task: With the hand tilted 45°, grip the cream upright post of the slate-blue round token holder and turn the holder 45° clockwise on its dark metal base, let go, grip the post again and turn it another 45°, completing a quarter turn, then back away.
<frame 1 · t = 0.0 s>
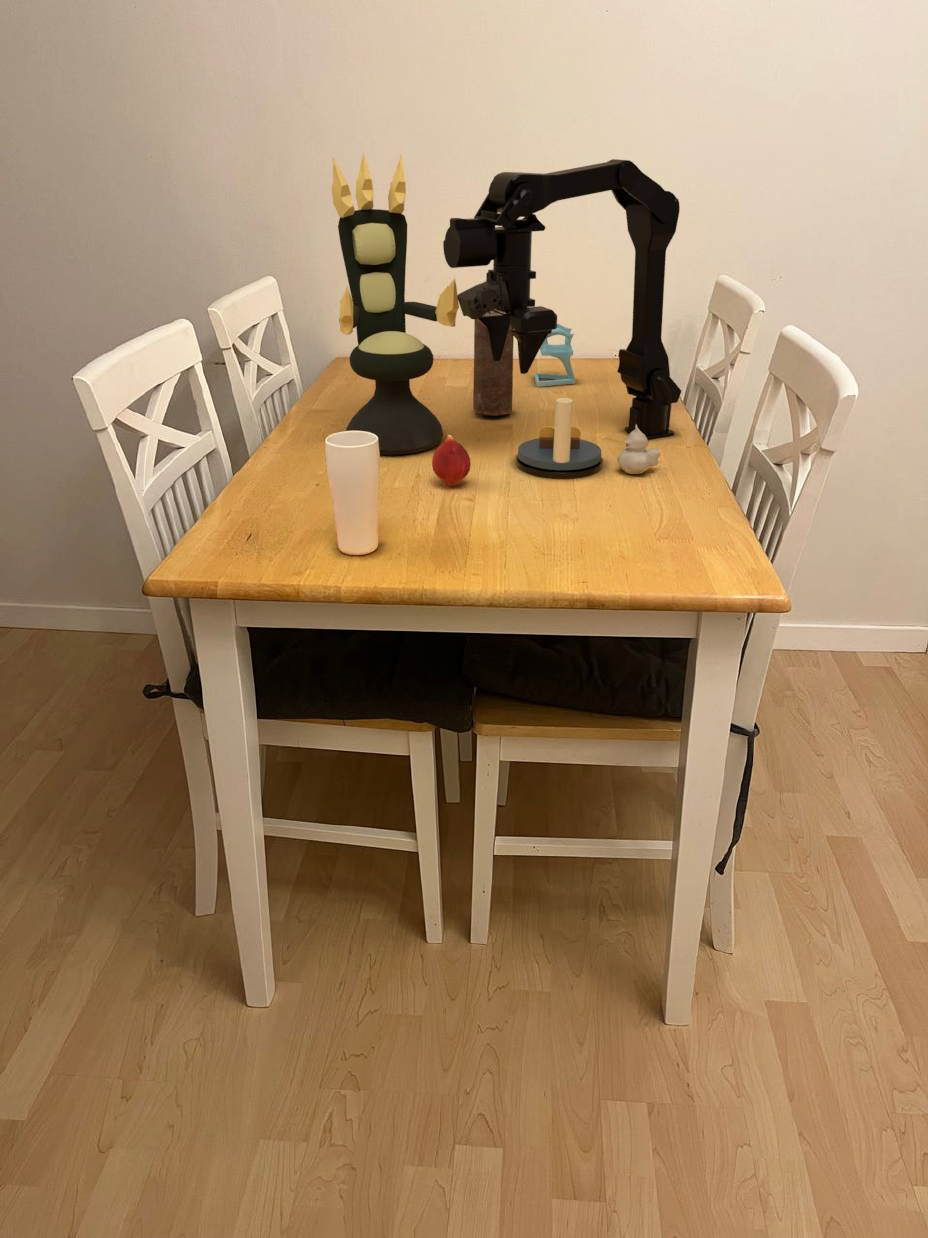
hand: (510, 366, 153), 15 cm above the table, tool pointing down, fingers open, 9 cm apart
turntable base: (559, 464, 156), on the table
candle: (492, 416, 181), on the table
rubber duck: (637, 473, 153), on the table
token holder: (560, 424, 153), point 7 cm above the table, hinge at 0.0°
black throne: (388, 440, 168), on the table
onion: (451, 487, 148), on the table
chair: (555, 383, 202), on the table
drinking glass: (358, 549, 127), on the table
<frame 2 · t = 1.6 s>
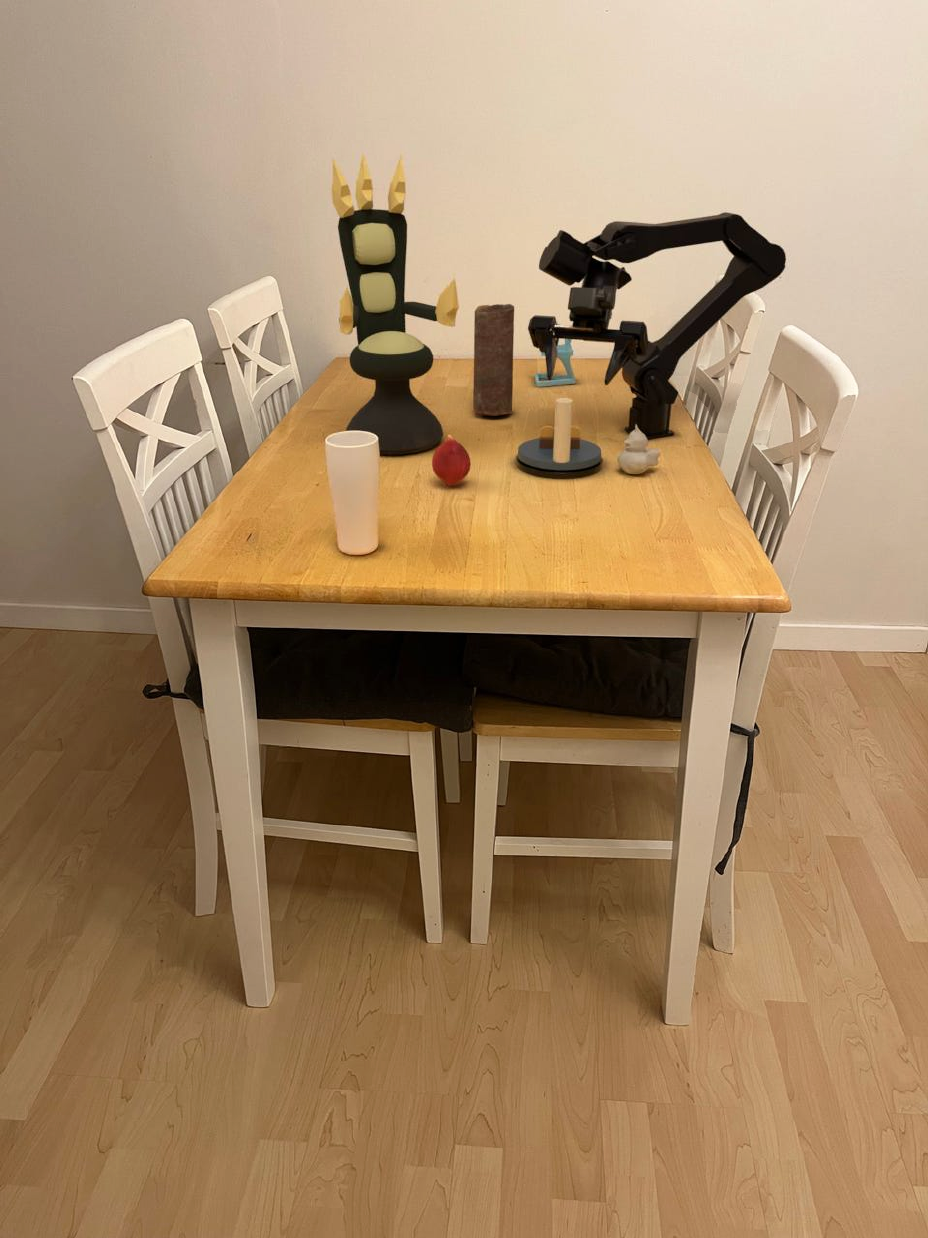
hand: (577, 381, 152), 13 cm above the table, tool tilted 45°, fingers open, 9 cm apart
nothing on the table moved.
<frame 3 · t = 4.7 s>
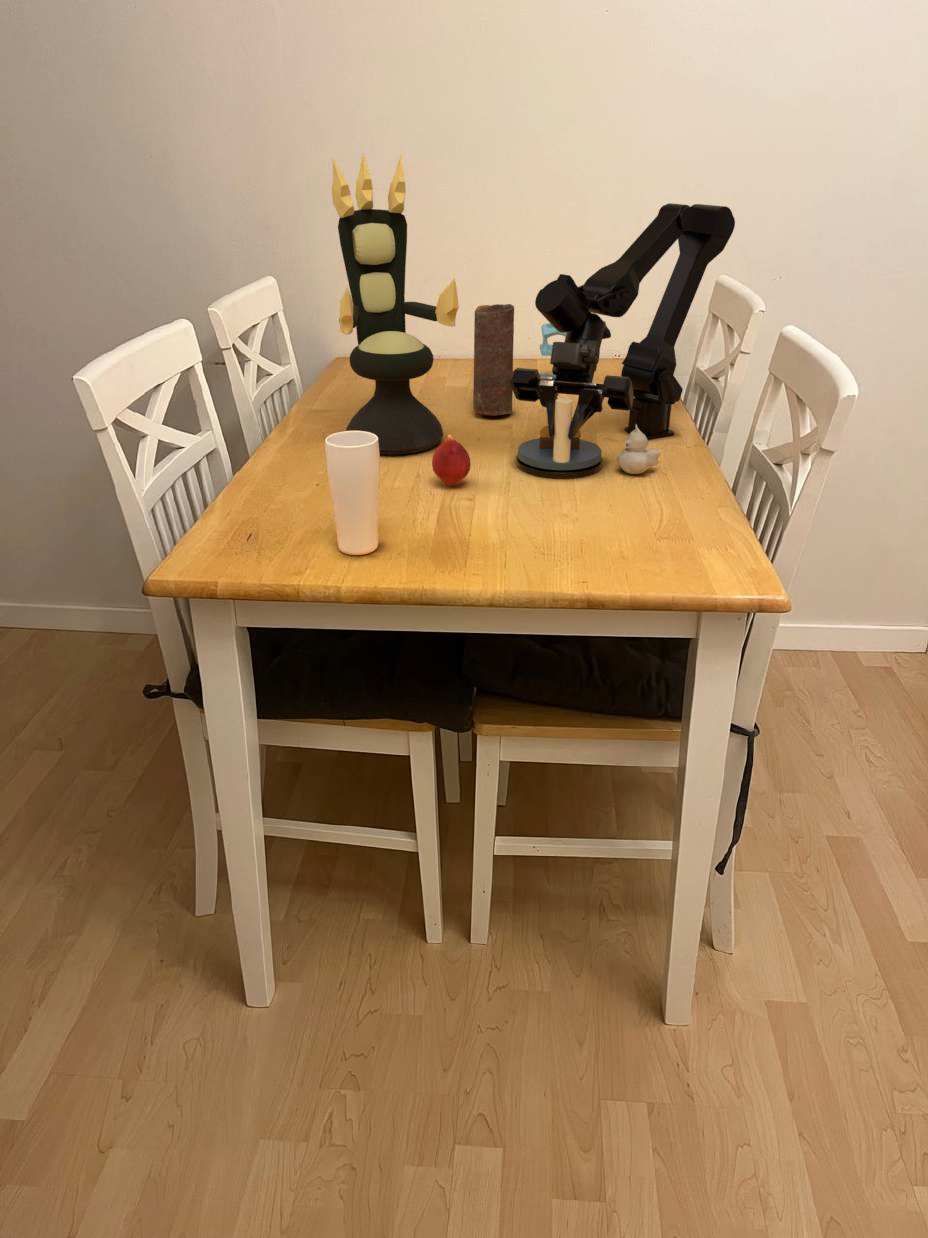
hand: (560, 437, 147), 7 cm above the table, tool tilted 45°, fingers closed on token holder, 3 cm apart
token holder: (560, 424, 153), point 7 cm above the table, hinge at 0.1°, touching gripper
everything else where it was.
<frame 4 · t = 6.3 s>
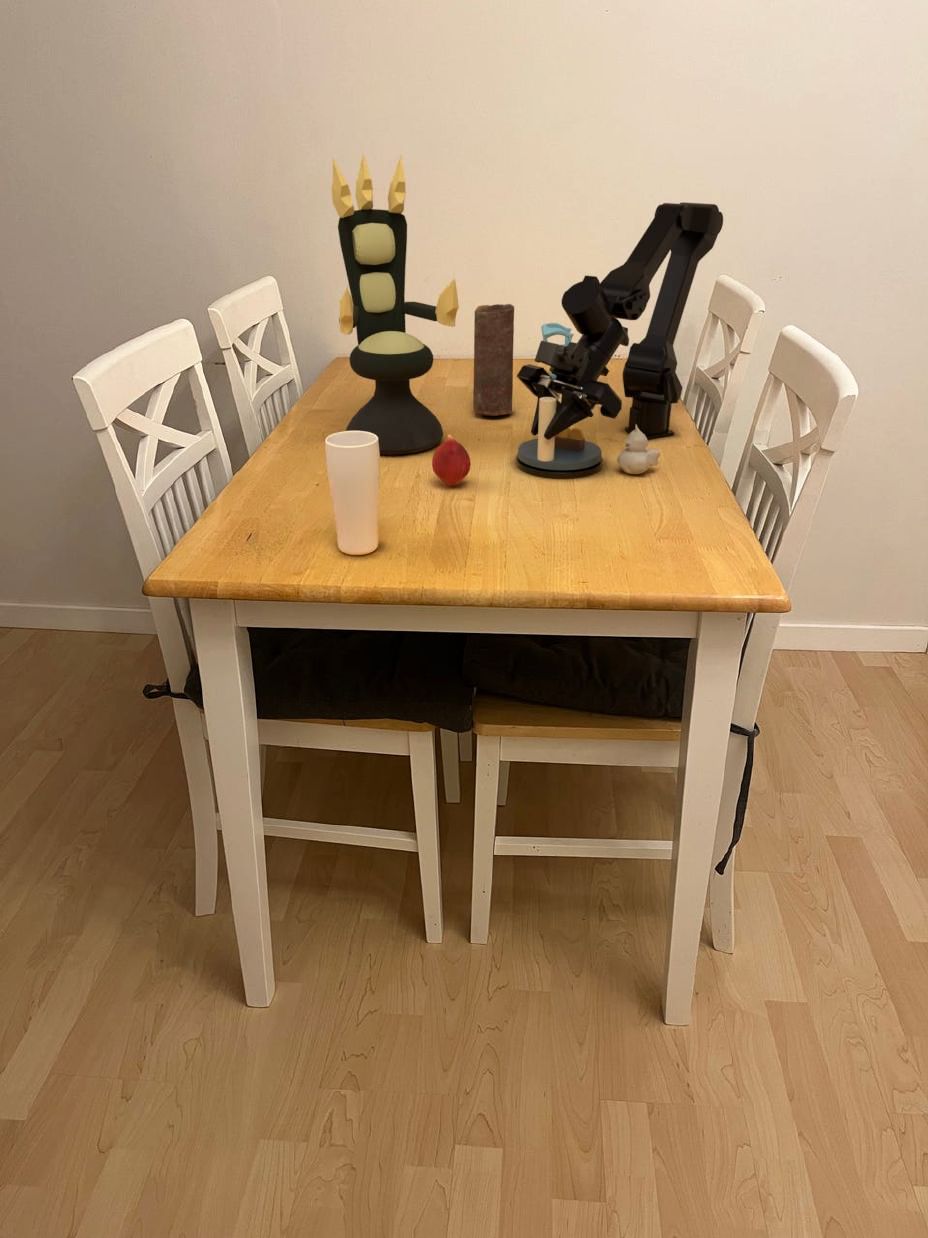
hand: (539, 435, 148), 6 cm above the table, tool tilted 45°, fingers closed on token holder, 3 cm apart
token holder: (560, 424, 153), point 7 cm above the table, hinge at -26.8°, touching gripper
everything else where it was.
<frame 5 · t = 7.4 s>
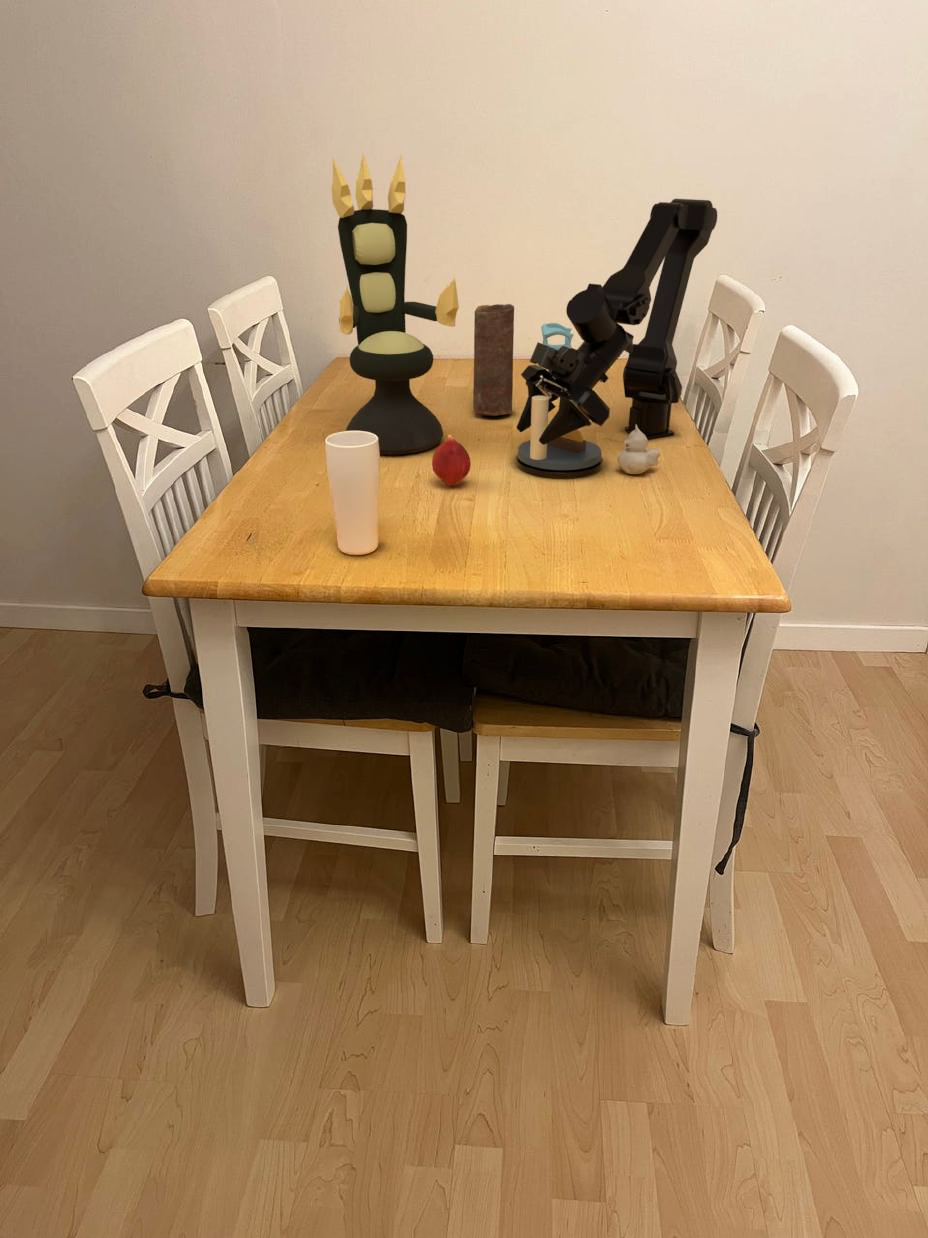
hand: (529, 436, 150), 6 cm above the table, tool tilted 45°, fingers open, 7 cm apart
token holder: (560, 424, 153), point 7 cm above the table, hinge at -41.3°
everything else where it was.
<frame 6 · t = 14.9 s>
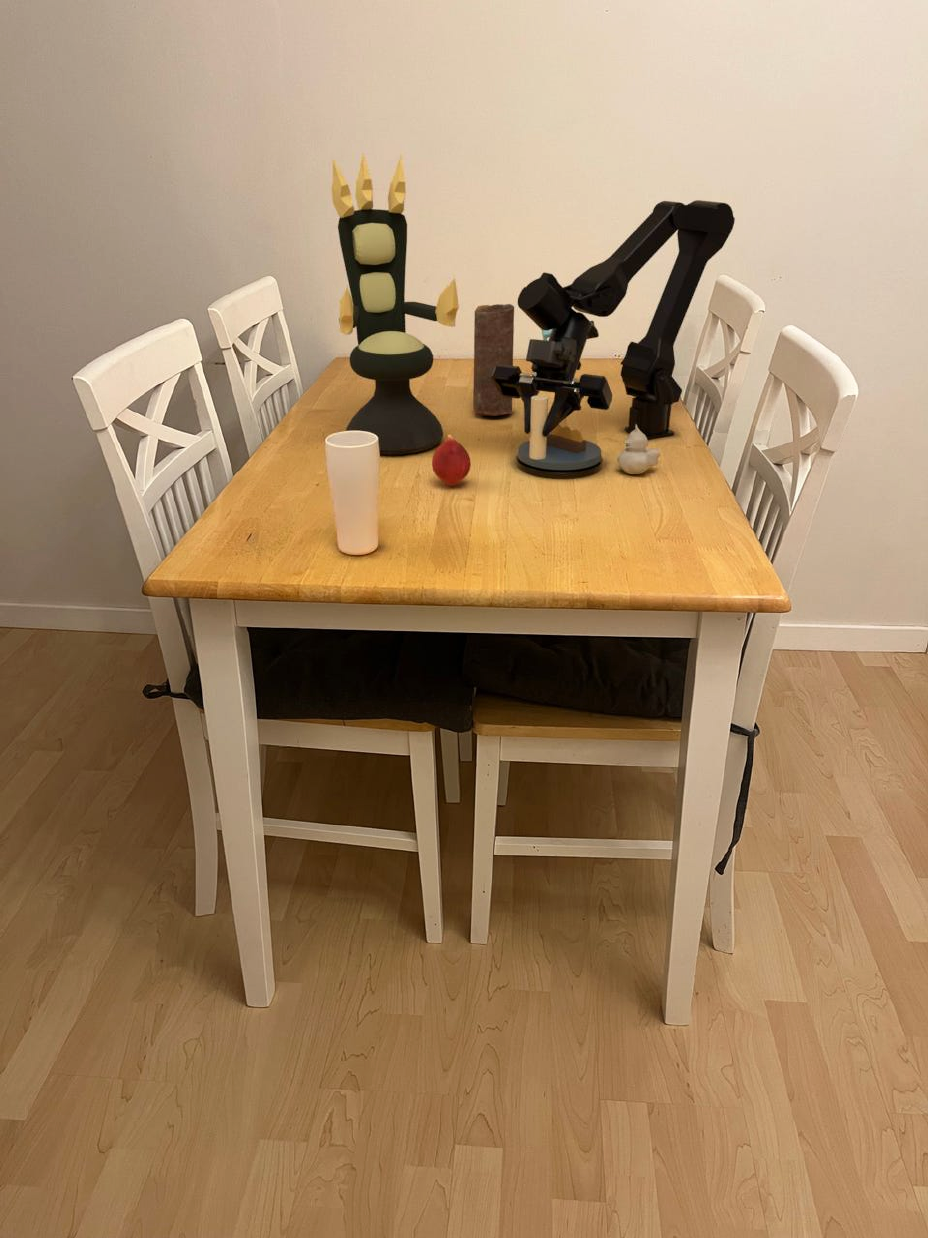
hand: (534, 434, 149), 7 cm above the table, tool tilted 45°, fingers closed on token holder, 3 cm apart
token holder: (560, 424, 153), point 7 cm above the table, hinge at -42.7°, touching gripper
everything else where it was.
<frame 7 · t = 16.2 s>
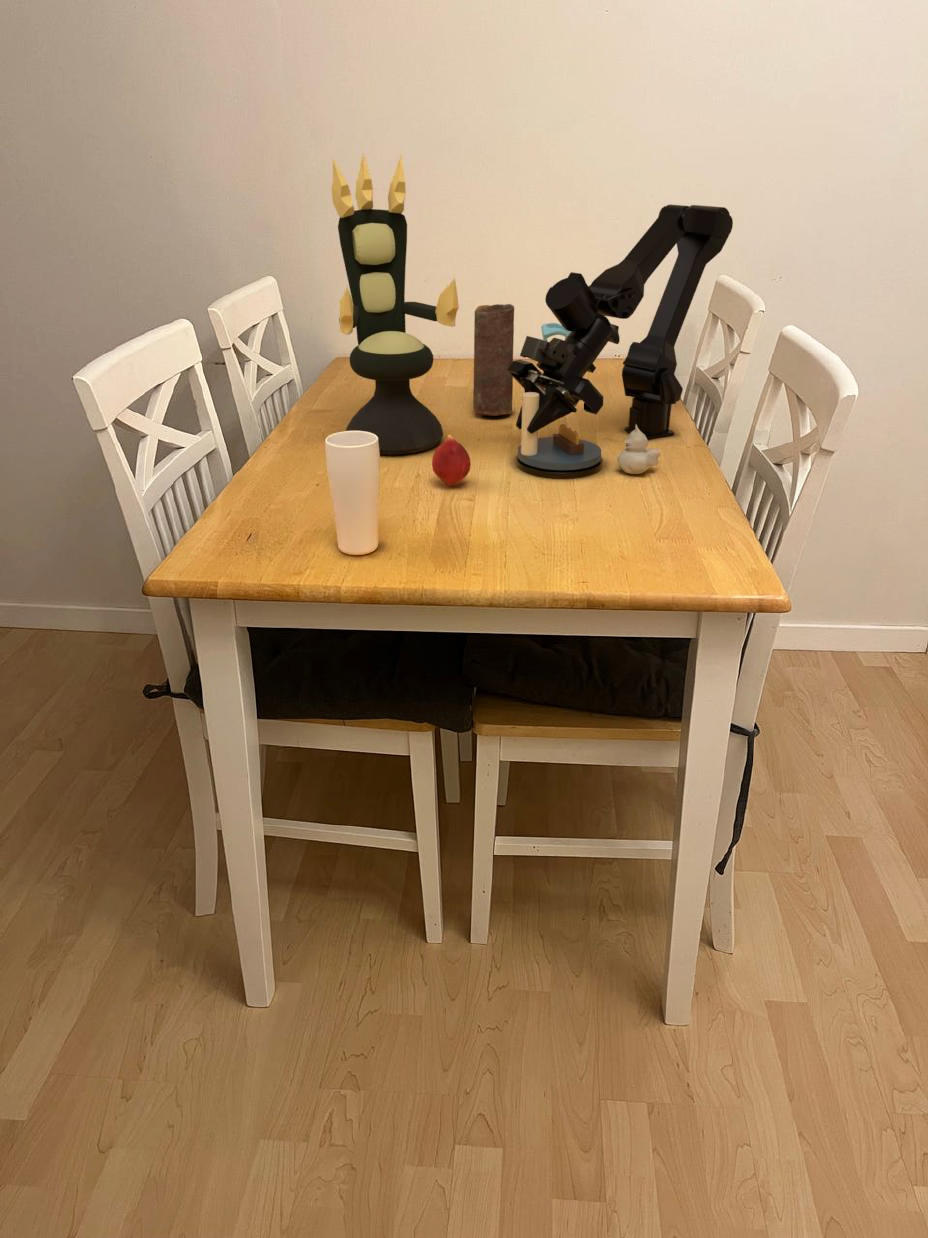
hand: (523, 429, 151), 7 cm above the table, tool tilted 45°, fingers closed on token holder, 3 cm apart
token holder: (560, 424, 153), point 7 cm above the table, hinge at -67.1°, touching gripper
everything else where it was.
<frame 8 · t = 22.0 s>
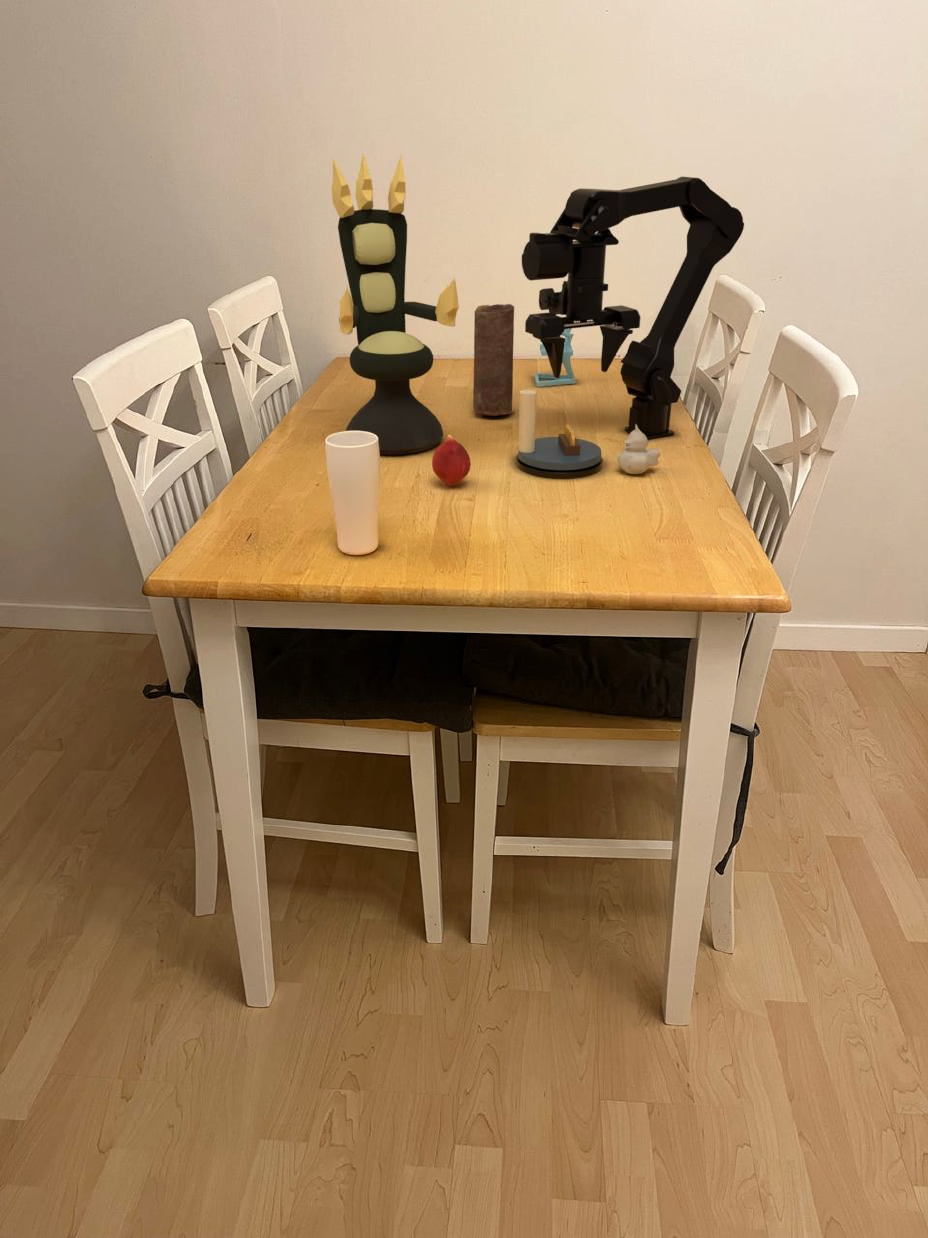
hand: (580, 374, 160), 12 cm above the table, tool pointing down, fingers open, 9 cm apart
token holder: (560, 424, 153), point 7 cm above the table, hinge at -82.7°
everything else where it was.
at the end: token holder at -83° (first picture: +0°); the gripper is holding nothing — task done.
